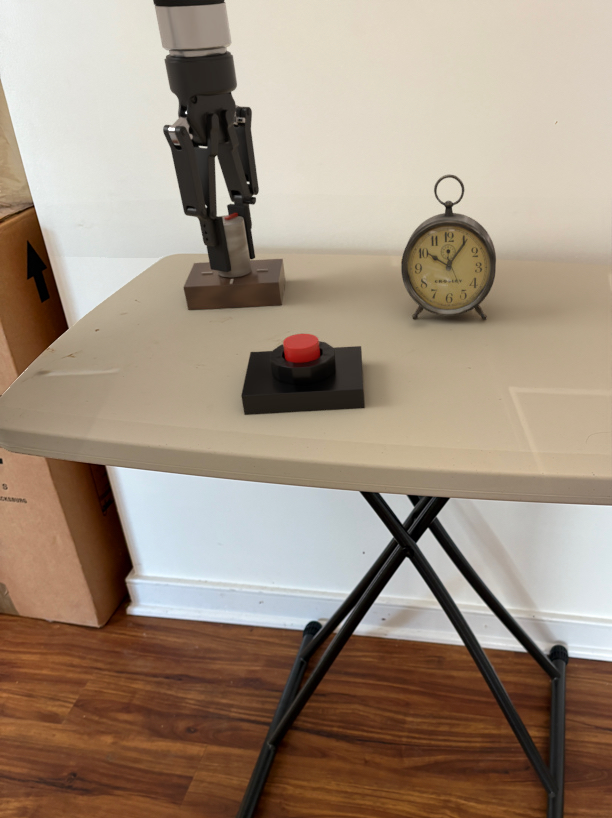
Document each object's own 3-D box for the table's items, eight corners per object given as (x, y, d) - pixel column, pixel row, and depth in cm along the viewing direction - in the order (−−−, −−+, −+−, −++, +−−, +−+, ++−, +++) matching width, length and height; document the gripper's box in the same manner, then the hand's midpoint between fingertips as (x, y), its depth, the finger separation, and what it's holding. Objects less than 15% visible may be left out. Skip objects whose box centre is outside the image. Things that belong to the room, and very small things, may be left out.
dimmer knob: (237, 279, 97) (228, 224, 93) (210, 274, 98) (200, 220, 94) (258, 268, 100) (250, 214, 96) (231, 264, 101) (222, 210, 97)
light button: (284, 365, 76) (281, 349, 75) (286, 350, 79) (283, 334, 78) (320, 363, 76) (318, 347, 75) (320, 348, 79) (319, 332, 78)
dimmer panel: (188, 310, 97) (182, 285, 95) (198, 284, 104) (193, 261, 102) (281, 305, 98) (278, 280, 96) (285, 280, 105) (282, 257, 103)
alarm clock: (402, 324, 92) (397, 180, 82) (407, 307, 96) (403, 168, 86) (492, 326, 91) (499, 180, 81) (494, 308, 95) (500, 168, 85)
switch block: (244, 415, 76) (238, 379, 73) (253, 370, 83) (247, 336, 81) (364, 408, 76) (362, 372, 73) (362, 364, 84) (360, 330, 81)
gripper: (220, 41, 91) (250, 240, 106) (115, 60, 79) (165, 281, 94) (271, 42, 88) (295, 246, 103) (171, 63, 76) (213, 290, 91)
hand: (233, 263), depth 98 cm, fingers closed on dimmer knob, 4 cm apart
